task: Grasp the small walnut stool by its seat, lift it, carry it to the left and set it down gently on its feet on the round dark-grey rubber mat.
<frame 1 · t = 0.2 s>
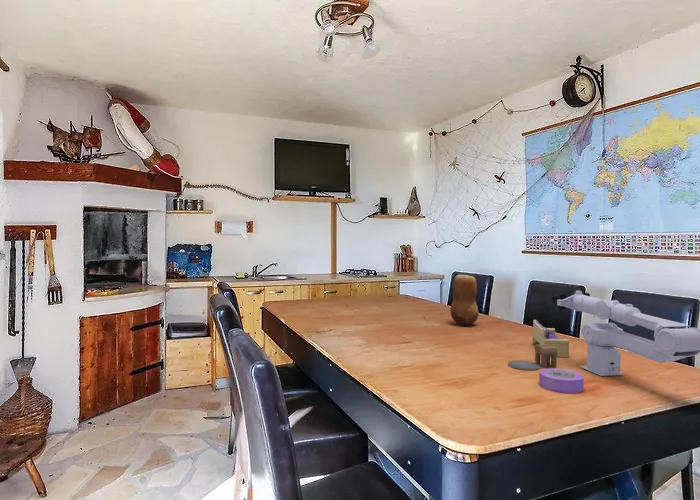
hand: (561, 298, 162), 21 cm above the table, tool horizontal, fingers open, 7 cm apart
butternut squash: (464, 325, 219), on the table
mat: (523, 366, 149), on the table
stool: (545, 365, 150), on the table
masking tape: (560, 387, 129), on the table
toy sofa: (549, 351, 171), on the table
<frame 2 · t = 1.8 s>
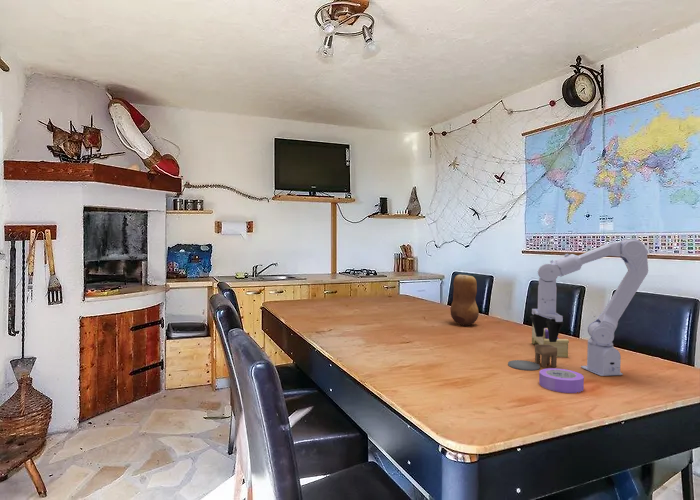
hand: (545, 339, 150), 9 cm above the table, tool pointing down, fingers open, 7 cm apart
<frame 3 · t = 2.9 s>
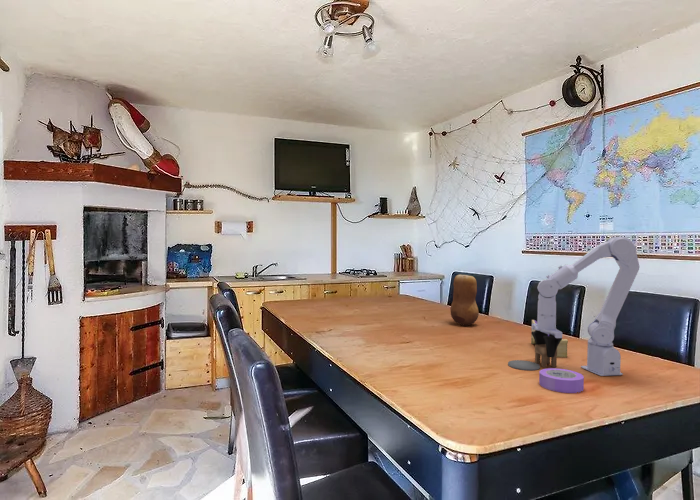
hand: (545, 354, 150), 4 cm above the table, tool pointing down, fingers closed on stool, 5 cm apart
stool: (545, 365, 150), on the table, touching gripper
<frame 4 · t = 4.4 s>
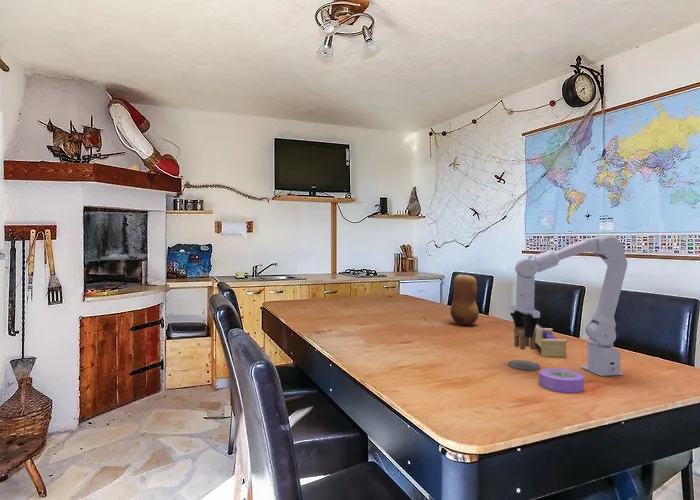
hand: (524, 335, 148), 10 cm above the table, tool pointing down, fingers closed on stool, 5 cm apart
stool: (524, 347, 148), point 6 cm above the table, touching gripper
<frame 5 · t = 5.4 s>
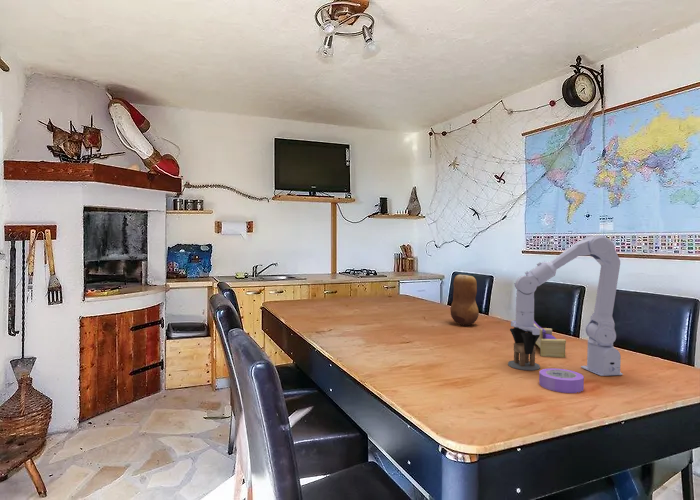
hand: (524, 351, 148), 5 cm above the table, tool pointing down, fingers closed on stool, 5 cm apart
stool: (524, 363, 149), point 1 cm above the table, touching gripper
when the fingers open (5 cm above the table, at t = 6.0 s): stool stays where it is, resting on mat.
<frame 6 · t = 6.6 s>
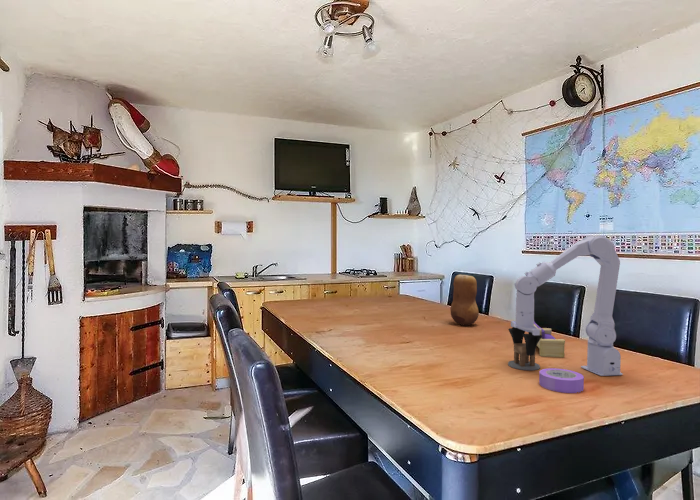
hand: (524, 352, 148), 5 cm above the table, tool pointing down, fingers open, 7 cm apart
stool: (524, 364, 149), point 1 cm above the table, touching mat
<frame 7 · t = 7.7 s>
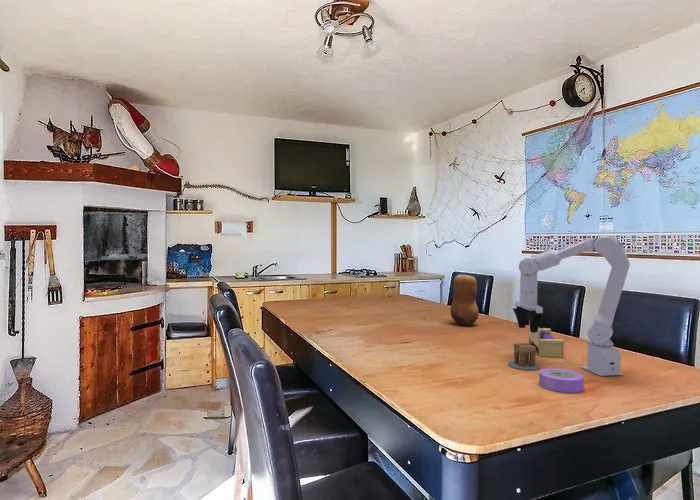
hand: (527, 330, 157), 10 cm above the table, tool pointing down, fingers open, 7 cm apart
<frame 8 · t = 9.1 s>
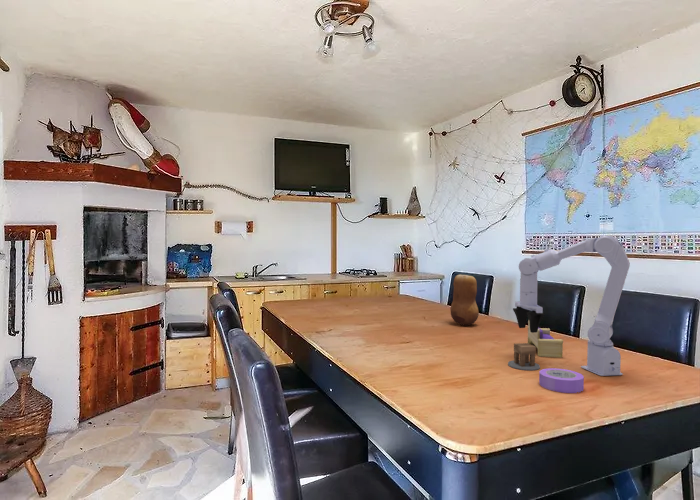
hand: (527, 330, 157), 10 cm above the table, tool pointing down, fingers open, 7 cm apart
at the end: stool inside the target area on the mat (0.2 cm from its centre), point 0.6 cm above the mat's base; stool tilted 0°; the gripper is holding nothing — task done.
